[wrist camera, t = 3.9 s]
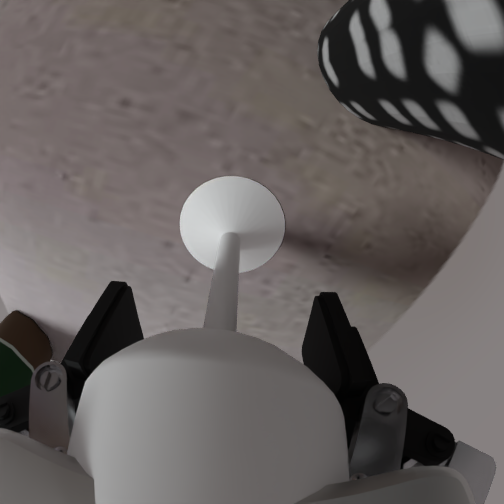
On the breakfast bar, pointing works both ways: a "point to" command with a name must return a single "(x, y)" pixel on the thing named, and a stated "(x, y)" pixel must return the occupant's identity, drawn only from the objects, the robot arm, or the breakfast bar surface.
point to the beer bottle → (20, 351)
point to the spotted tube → (421, 67)
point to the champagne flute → (212, 387)
